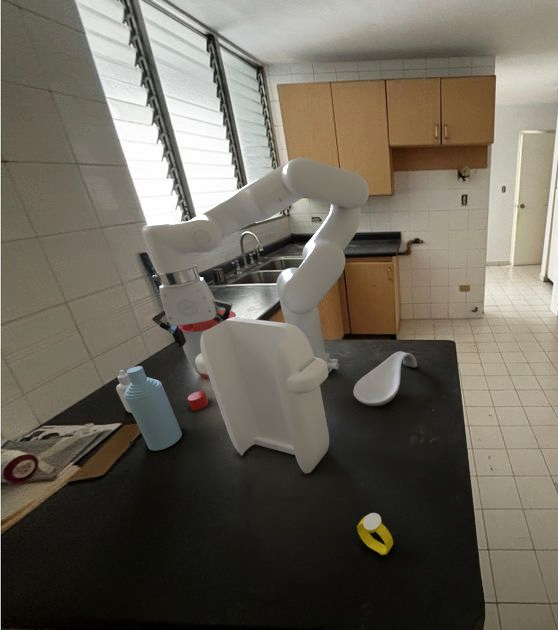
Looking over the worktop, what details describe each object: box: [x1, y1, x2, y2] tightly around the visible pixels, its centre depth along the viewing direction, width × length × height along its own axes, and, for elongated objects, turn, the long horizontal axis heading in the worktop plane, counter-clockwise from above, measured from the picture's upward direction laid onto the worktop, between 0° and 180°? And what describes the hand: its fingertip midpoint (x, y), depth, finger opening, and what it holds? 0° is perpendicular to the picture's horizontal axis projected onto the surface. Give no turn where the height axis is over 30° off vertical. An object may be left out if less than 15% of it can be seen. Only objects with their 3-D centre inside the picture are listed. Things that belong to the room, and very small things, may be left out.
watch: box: [356, 512, 394, 556], centre depth 51 cm, size 6×3×6 cm, turn 59°
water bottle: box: [124, 365, 183, 452], centre depth 73 cm, size 6×6×19 cm
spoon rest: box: [353, 350, 418, 407], centre depth 91 cm, size 24×12×7 cm, turn 153°
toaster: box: [195, 316, 330, 475], centre depth 67 cm, size 27×11×30 cm, turn 71°
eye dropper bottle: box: [115, 369, 132, 414], centre depth 85 cm, size 4×6×12 cm
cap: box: [187, 390, 209, 411], centre depth 87 cm, size 4×4×3 cm
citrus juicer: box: [178, 309, 237, 380], centre depth 101 cm, size 16×17×20 cm
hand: (204, 340), depth 86 cm, fingers open, 9 cm apart
